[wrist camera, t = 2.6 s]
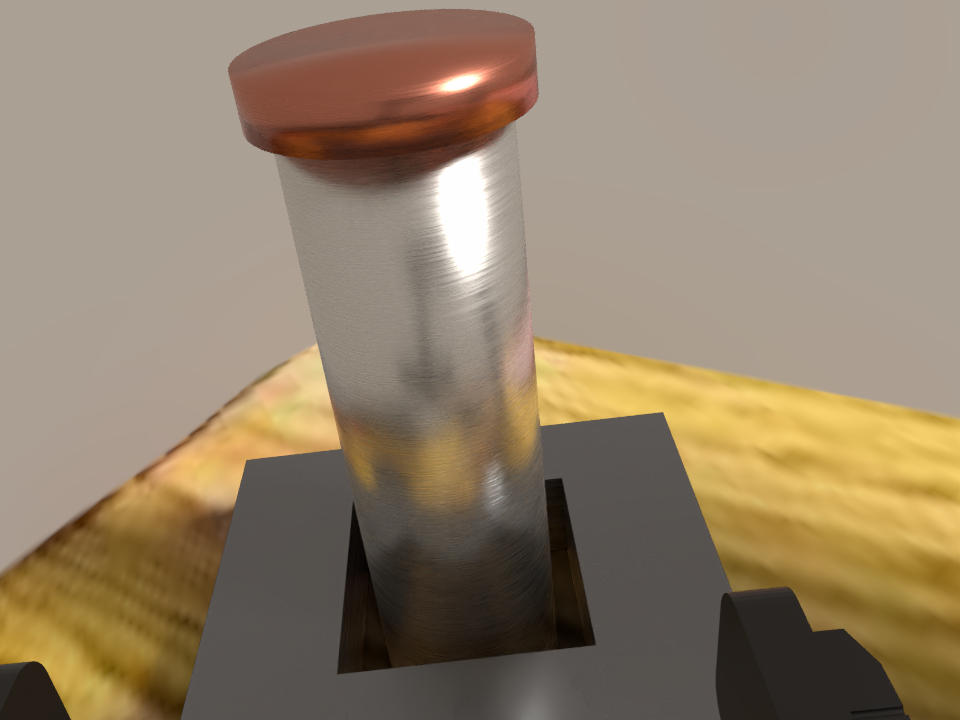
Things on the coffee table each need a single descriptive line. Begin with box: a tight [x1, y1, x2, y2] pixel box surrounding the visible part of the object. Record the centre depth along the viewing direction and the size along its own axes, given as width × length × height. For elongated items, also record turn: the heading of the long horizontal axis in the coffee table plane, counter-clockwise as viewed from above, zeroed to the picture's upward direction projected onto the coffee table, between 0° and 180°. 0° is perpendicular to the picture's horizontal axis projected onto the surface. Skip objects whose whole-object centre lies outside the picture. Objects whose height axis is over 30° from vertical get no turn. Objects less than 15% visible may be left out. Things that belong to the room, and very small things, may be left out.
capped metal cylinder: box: [228, 9, 557, 668], centre depth 23 cm, size 6×6×17 cm
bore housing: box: [181, 412, 732, 720], centre depth 26 cm, size 14×12×3 cm
